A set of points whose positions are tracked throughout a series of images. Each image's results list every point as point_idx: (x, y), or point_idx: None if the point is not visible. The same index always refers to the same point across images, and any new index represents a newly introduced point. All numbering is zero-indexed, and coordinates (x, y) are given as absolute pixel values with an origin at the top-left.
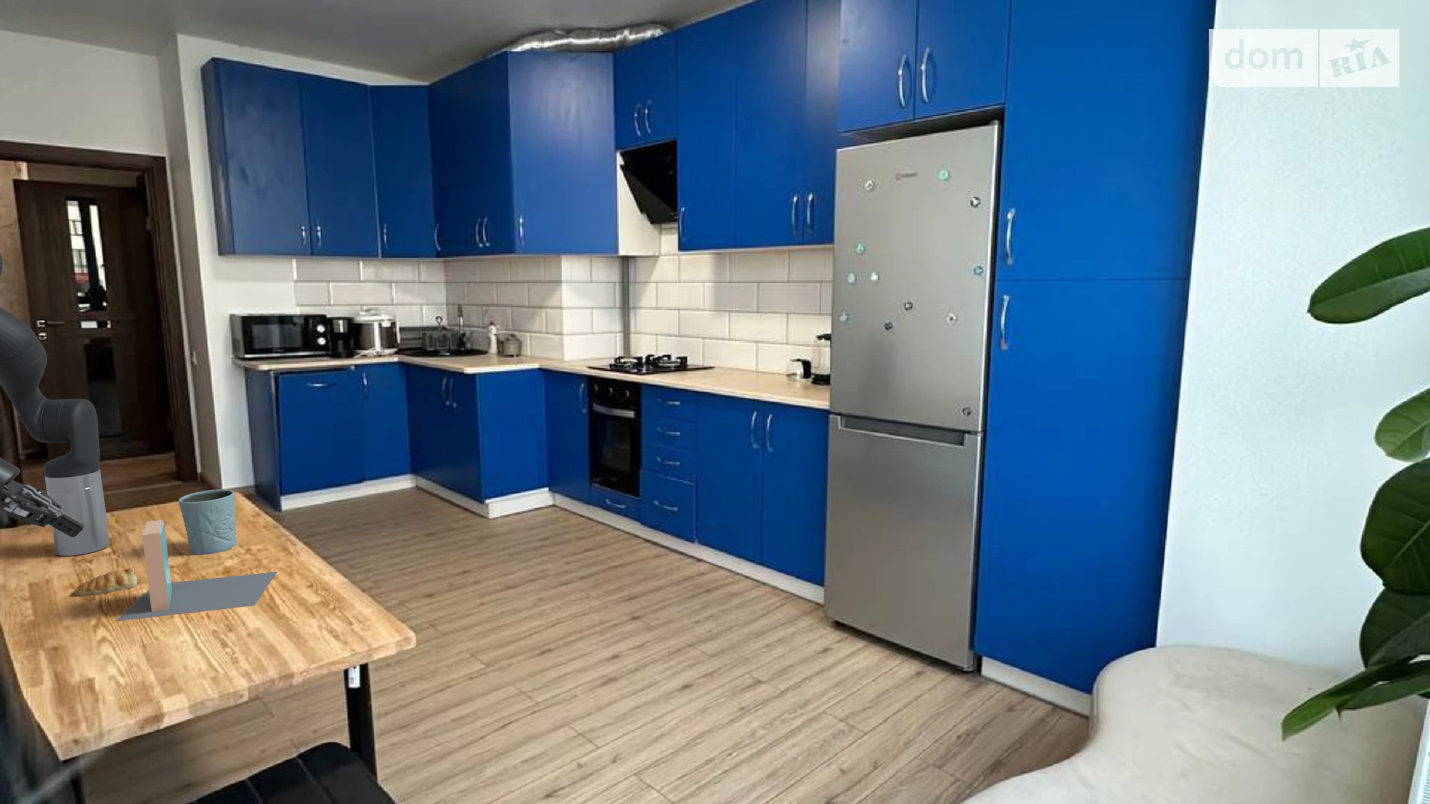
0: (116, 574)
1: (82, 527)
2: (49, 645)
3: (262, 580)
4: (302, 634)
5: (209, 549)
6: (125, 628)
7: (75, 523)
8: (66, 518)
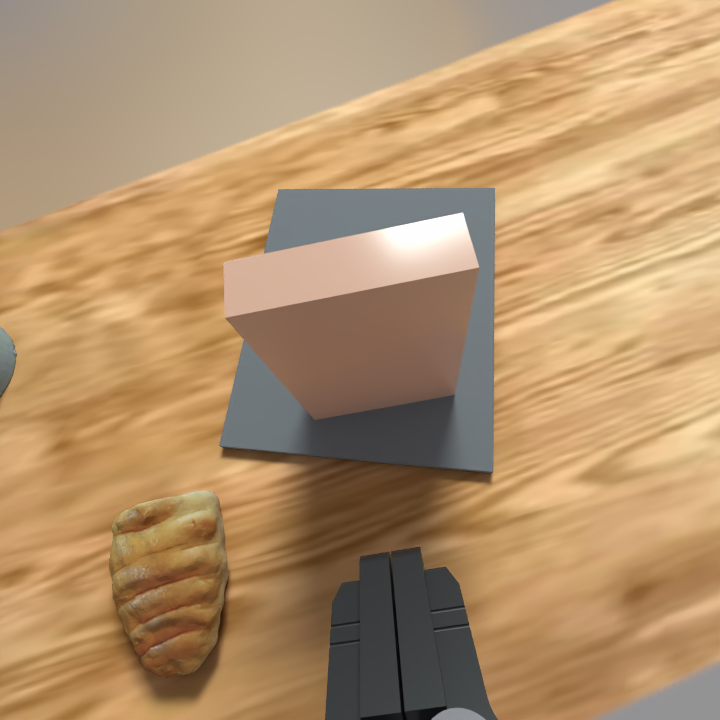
0: (171, 544)
1: (412, 548)
2: (607, 620)
3: (327, 205)
4: (676, 91)
5: (3, 366)
6: (531, 440)
7: (426, 589)
8: (436, 662)
